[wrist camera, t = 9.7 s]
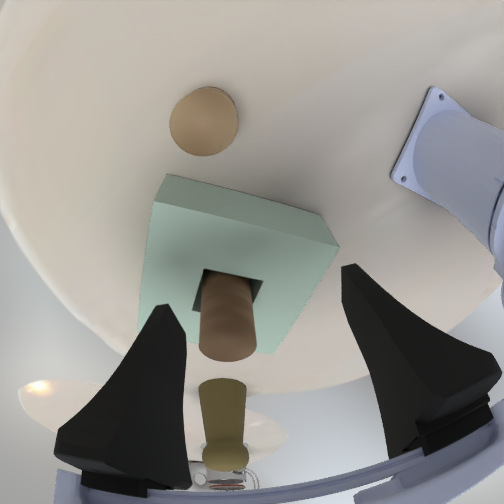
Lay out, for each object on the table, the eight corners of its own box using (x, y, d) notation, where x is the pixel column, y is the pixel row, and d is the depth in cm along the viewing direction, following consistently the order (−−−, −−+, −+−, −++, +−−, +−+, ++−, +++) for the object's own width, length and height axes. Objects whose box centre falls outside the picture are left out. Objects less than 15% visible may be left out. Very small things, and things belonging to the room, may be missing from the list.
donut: (178, 460, 58) (179, 495, 49) (183, 458, 56) (183, 494, 48) (215, 465, 61) (216, 497, 53) (220, 462, 59) (222, 496, 51)
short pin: (242, 95, 15) (247, 102, 12) (225, 143, 17) (226, 163, 14) (190, 81, 14) (180, 84, 11) (175, 130, 16) (162, 147, 13)
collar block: (321, 215, 20) (339, 247, 17) (267, 318, 26) (273, 354, 23) (166, 173, 18) (153, 201, 14) (145, 295, 24) (137, 331, 20)
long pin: (252, 246, 22) (265, 333, 15) (239, 278, 23) (246, 364, 17) (210, 236, 21) (205, 323, 14) (200, 270, 22) (194, 357, 16)
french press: (210, 438, 46) (217, 557, 26) (264, 442, 50) (278, 550, 30) (194, 449, 51) (198, 551, 31) (243, 454, 55) (252, 549, 34)
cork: (208, 401, 36) (210, 475, 27) (190, 382, 32) (189, 466, 23) (251, 395, 35) (259, 471, 27) (238, 374, 32) (245, 463, 23)
